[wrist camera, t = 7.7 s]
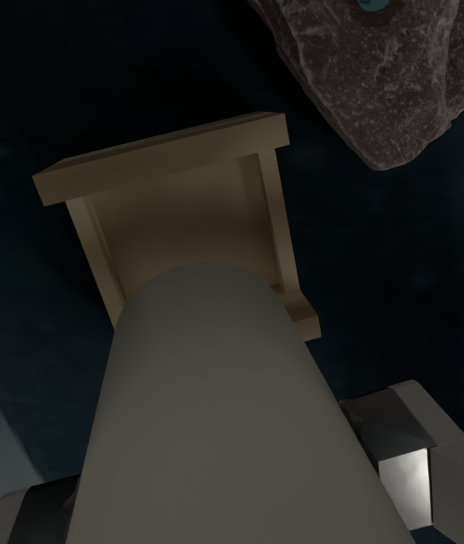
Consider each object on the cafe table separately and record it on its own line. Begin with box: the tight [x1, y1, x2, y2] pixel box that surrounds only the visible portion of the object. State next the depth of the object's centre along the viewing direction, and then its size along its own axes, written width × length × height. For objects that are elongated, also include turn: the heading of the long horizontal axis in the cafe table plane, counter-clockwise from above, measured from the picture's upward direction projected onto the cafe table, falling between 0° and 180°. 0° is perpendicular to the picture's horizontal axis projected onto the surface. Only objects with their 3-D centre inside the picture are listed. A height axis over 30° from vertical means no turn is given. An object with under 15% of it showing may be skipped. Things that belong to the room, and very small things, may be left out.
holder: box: [32, 111, 321, 341], centre depth 21 cm, size 10×10×6 cm
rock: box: [247, 0, 464, 171], centre depth 19 cm, size 9×13×5 cm
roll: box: [66, 262, 416, 544], centre depth 8 cm, size 5×5×9 cm
